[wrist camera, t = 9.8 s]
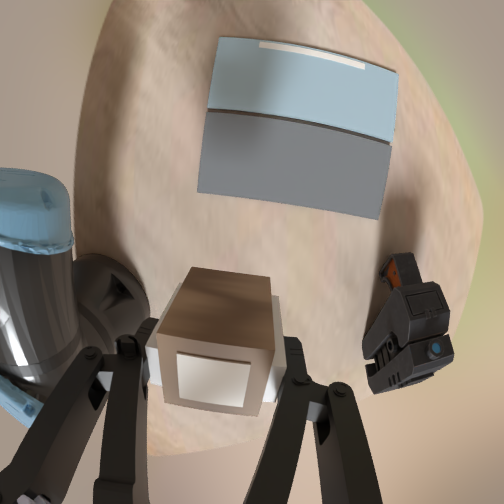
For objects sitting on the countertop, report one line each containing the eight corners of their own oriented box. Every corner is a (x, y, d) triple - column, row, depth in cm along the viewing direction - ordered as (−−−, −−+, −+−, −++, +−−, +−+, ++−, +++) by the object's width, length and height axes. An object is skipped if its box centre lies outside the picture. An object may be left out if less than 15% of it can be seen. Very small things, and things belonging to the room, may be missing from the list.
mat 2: (198, 191, 29) (197, 192, 29) (207, 112, 26) (206, 111, 26) (376, 219, 30) (378, 220, 29) (389, 146, 27) (392, 146, 26)
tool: (422, 239, 28) (467, 356, 18) (380, 314, 42) (398, 395, 33) (379, 243, 28) (420, 373, 18) (348, 318, 43) (363, 404, 33)
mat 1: (208, 108, 26) (206, 107, 25) (220, 38, 23) (219, 36, 22) (390, 142, 27) (392, 142, 26) (396, 75, 23) (398, 74, 23)
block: (190, 329, 19) (164, 403, 12) (191, 266, 17) (155, 334, 10) (258, 338, 19) (257, 417, 12) (270, 277, 17) (275, 351, 10)
